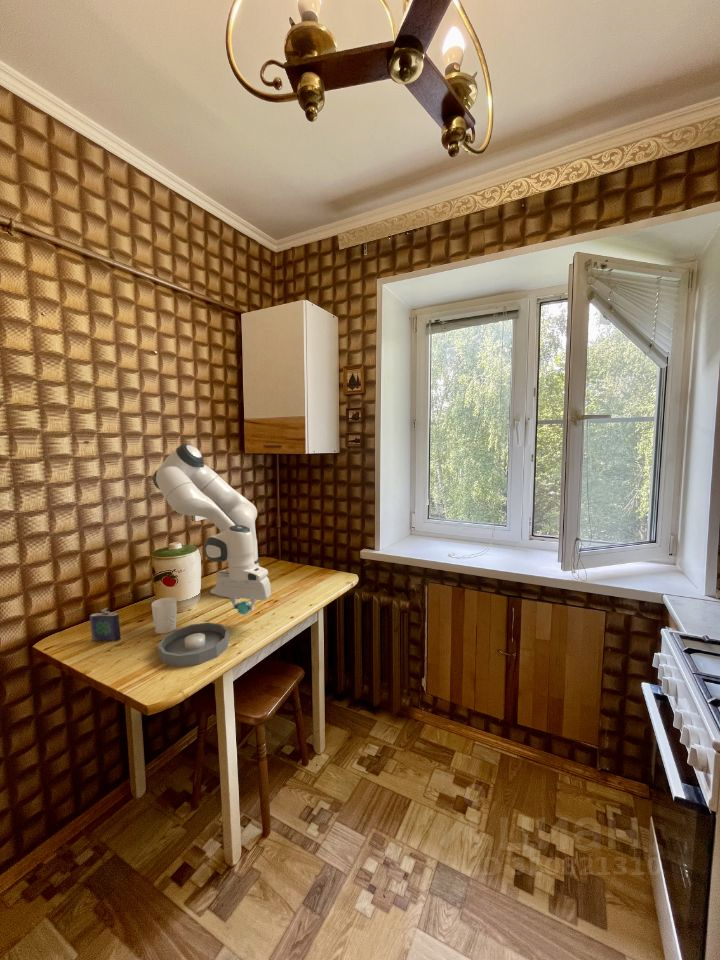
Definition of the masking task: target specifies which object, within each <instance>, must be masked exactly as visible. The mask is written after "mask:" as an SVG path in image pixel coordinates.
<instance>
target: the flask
mask: <svg viewBox="0 0 720 960" xmlns="http://www.w3.org/2000/svg"><path fill="white" fill-rule="evenodd" d="M89 621H90V631H91V641H92V642H96V643H97V642H101V643H102V642H104V643H105V642H118V641H120V640H121V638H122V637H121V629H120V618H119V613H118V612H114V611H112V612H111V611H109V610H108V607H105V608H103V609H101V610H100V612H96V613H92V614H91V615H89Z"/></svg>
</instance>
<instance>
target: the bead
mask: <svg viewBox="0 0 720 960" xmlns="http://www.w3.org/2000/svg"><path fill="white" fill-rule="evenodd" d="M238 603H239V605H238V607H237V609H236V611H237V612H238V613H239V614H240V615H247V614H249V612H250V610H248V606H249V605H250V604H251V603H250V602H248V601H246V600H244V601H243V600H242V601H240V602H238Z"/></svg>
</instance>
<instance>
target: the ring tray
mask: <svg viewBox="0 0 720 960" xmlns="http://www.w3.org/2000/svg"><path fill="white" fill-rule="evenodd" d="M229 642H230V629H229V628H227V627H226V626H225V625H224V624H221V623H215V622H201V623H193V624H189V625H187V626H183V627H180V628H176V629H174V630H173V631H171V632H169V633H167V635H165V636H163V637H162V639H161V641H160V642H159V644H158V646H157V649H158V658H159V660H160V661H161V662H162V663H163V664H164V665H165V666H170V667H175V668H184V667H191V666H197V665H199V666H200V665H202V664H204V663H207V662H209V661H211V660H212V661H213V660H214V659H216V658H218V657H219V656H221V655H222V654H223V653H224V652H225V651H226V650H227V649H228V648H229Z"/></svg>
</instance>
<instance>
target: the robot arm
mask: <svg viewBox="0 0 720 960" xmlns="http://www.w3.org/2000/svg"><path fill="white" fill-rule="evenodd" d="M152 482H153V485H154V486H155V487H156V489H158V490H159V491H160V493H161V494H162V496H163V498H164V499H165V501H166V502H167V504H168V506H170V507H171V509H173V510H174V511H175V512H177V513H178V514H179V515H180V514H181V515H183V516H194V517H202V518H205V519H207V520H209V521H210V522H211V523H213V524H214V525H215V527H216V528H217V529H218V530H219V531H220V533H217V534H213V535H211V536H210V537H208V538H207V539H206V540H205V542H204V545H203V550H204V554H205V556H206V558H207V559H208V560H210V562H213V563H221V562H226V566H227V567H228V568H227V569H225V570H224V569H220V570H218V571H217V572H216V577H215V578H216V582H215V586H213V587H212V588H211V589H210V592H209V593H210V594H211V595H215V596H218V597H224V598H228V599H229V600H230V602H231V604H232V606H233V609H234V610H237V607H238V605H239V603H240V602H238V601H237V599H245V600H246V599H247V600H249V601H250V602H251V603H250V602H249V604H250V605H249V606H248V610H250V611H254V610H255V604H256V602H257V600H258V601H266V600H268V599H269V598H270V597H271V595H272V590H271V589H272V587H271V582H270V579H269V577H268V575H269V570H268V569H267V568H264V567H262V566H260V558H259V553H258V552H259V551H258V550H259V549H258V539H257V533H256V519H257V517H258V510H257V508H256V505H255V504H253V502H251V501H250V500H248V499H247V498H246V497H244V496H243V495H242V494H241V493H239V492H238V491H237V490H235V489H234V488H233V487H232V486H231V485H229V483H228V482H226V481H225V480H224V479H223V478H222V477H221V476H220V475H219V474H218V473H216V471H214V470H213V469H212V468H211V467H209V466H208V465H206V464H205V462H204V456H203V454H202V452H201V451H200V450H199V448H197V447H195V445H193V444H189V443H183V444H181V445H180V446H178V447H177V448H176V449H175V450H174V451H173V452H172V453H170V455H168V456H167V457H166V458H165V459H164V461H163V462H162V464H160V467H158V469H156V470H155V471H154V473H153V475H152ZM250 611H249V612H250Z"/></svg>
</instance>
